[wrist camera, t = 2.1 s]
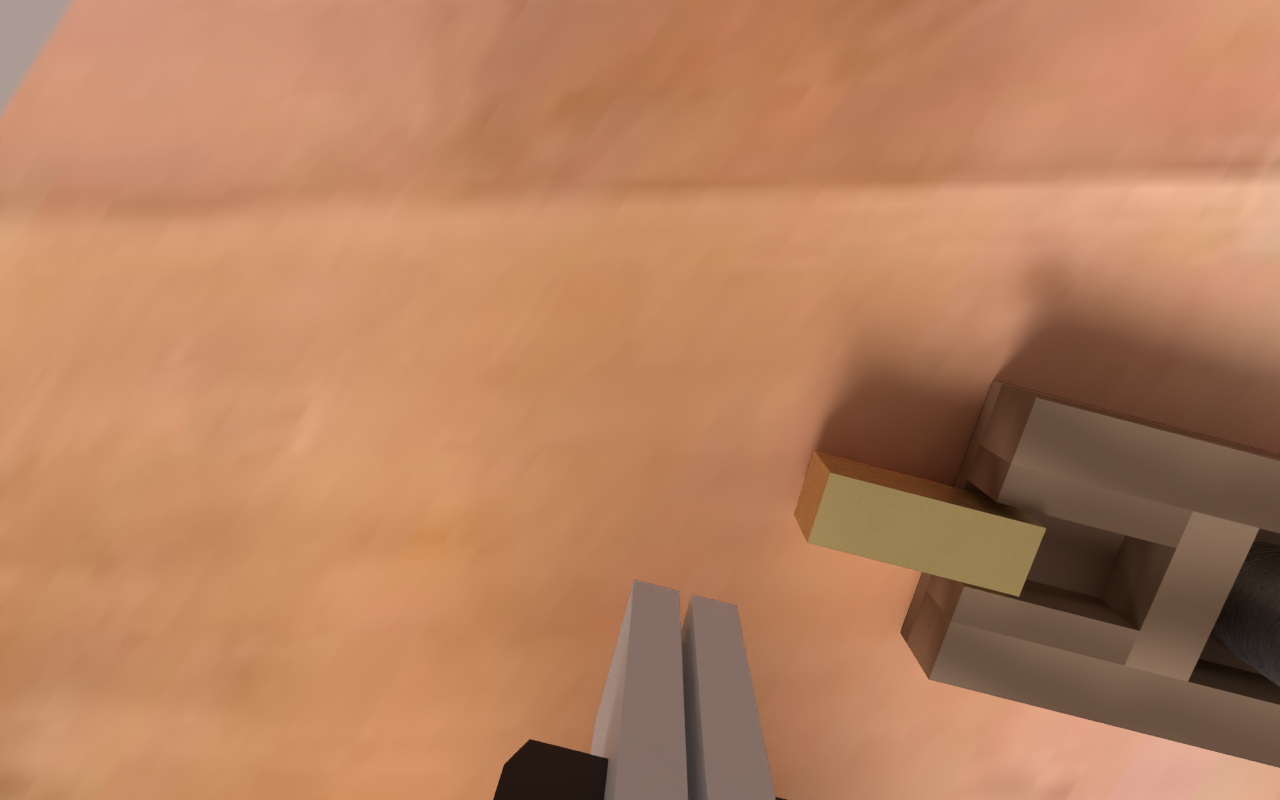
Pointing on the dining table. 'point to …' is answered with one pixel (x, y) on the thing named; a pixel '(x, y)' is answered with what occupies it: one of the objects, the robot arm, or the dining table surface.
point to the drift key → (916, 524)
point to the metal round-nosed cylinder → (1254, 612)
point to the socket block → (1111, 575)
